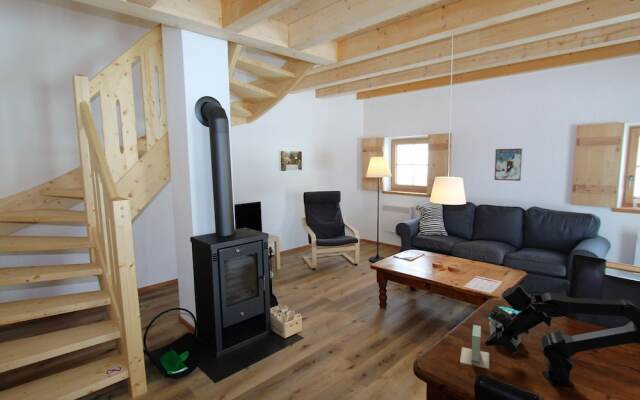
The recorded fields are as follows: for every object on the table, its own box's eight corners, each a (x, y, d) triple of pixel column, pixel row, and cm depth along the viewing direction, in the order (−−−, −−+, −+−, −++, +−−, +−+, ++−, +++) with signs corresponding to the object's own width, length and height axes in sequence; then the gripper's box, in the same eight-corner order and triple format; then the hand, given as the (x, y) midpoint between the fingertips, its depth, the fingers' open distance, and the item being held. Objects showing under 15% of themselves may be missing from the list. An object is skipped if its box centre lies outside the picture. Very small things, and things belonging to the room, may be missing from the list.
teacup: (513, 355, 124) (514, 334, 123) (483, 342, 132) (484, 323, 131) (528, 341, 133) (529, 321, 132) (499, 330, 141) (500, 312, 140)
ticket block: (488, 356, 124) (489, 352, 123) (488, 372, 115) (489, 368, 114) (461, 350, 127) (462, 347, 127) (459, 366, 119) (460, 362, 118)
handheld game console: (523, 314, 155) (523, 311, 155) (513, 328, 144) (513, 324, 143) (499, 307, 162) (499, 305, 162) (488, 320, 150) (488, 317, 150)
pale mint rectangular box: (479, 352, 124) (481, 326, 122) (479, 364, 117) (480, 337, 115) (472, 350, 125) (473, 324, 123) (471, 362, 118) (472, 335, 116)
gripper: (504, 290, 122) (469, 313, 129) (507, 313, 106) (466, 338, 112) (528, 315, 120) (492, 338, 126) (535, 342, 103) (492, 367, 110)
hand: (485, 344), depth 119 cm, fingers closed
